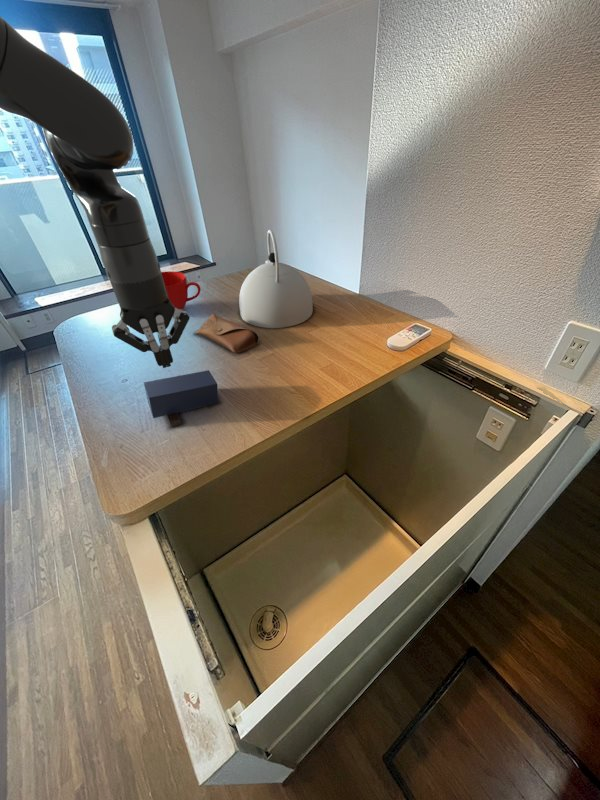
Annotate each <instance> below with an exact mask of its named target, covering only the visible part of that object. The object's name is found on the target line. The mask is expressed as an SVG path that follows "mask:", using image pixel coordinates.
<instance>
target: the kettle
mask: <svg viewBox="0 0 600 800" xmlns="http://www.w3.org/2000/svg"><path fill="white" fill-rule="evenodd" d="M266 235H267V237H266V238H267V239H266V240H267V241H266V242H267V253H268V259H266V260H265V263H262V264H260V265H259V266H257V267H256V268H254V269H253V270H252V271H251V272H250V273H249V274H248V275H247V276H246V277H245V279H244V280H243V282H242V285H241V287H240V290H239V296H238V304H239V305H238V306H239V315H240V317H241V319H242V320H243V321H244V322H246V323H247V324H249V325H251V326H255V327H259V328H264V329H282V328H289V327H293V326H296V325H299V324H301V323H303V322H305V321H307V320H309V318H311V316H312V315H313V311H314V308H313V307H314V306H313V295H312V290H311V287H310V284H309V283H308V281H307V280H306V278H305V277H304V275H303V274H301V273H300V271H298V270H297V269H296V268H294V267H293V266H291V265H289V264H287V263H285V262H280V261H279V253H278V246H277V240H276V237H275V236H276V235H275V234H274V232H273V230H272V229H268V230H267V234H266ZM271 240H272V241H271ZM271 242H272V246H273V252H272V249H271Z"/></svg>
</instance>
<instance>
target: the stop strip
mask: <svg viewBox="0 0 600 800" xmlns="http://www.w3.org/2000/svg"><path fill="white" fill-rule="evenodd" d="M166 418H167V420H168V422H169V424H170V427H171V428H174V427H177V426H180V425H181V424H182V421H181V418H180V415H179V413H174V414H170V415H166Z"/></svg>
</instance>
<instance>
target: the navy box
mask: <svg viewBox="0 0 600 800" xmlns="http://www.w3.org/2000/svg"><path fill="white" fill-rule="evenodd" d="M143 387H144V390H145V396H146V399H147V404H148V407H149V409H150V410H149V411H150V413H151V416H152V418H153V419H156V418H161V417H164V416H165V417H166V416H167V415H170V414H174V413H177V414H179V413H181V412H186V411H190V410H194V409H199V408H203V407H208V406H211V405H215V404H219V390H218V389H219V388H218V387H219V386H218V382H217V381H216V379H215V378H214V376H213V374H212V373H211V371H210V370H209V369H208V370H203V371H197V372H191V373H187V374H186V373H185V374H182V375H175V376H170V377H165V378H160V379H155V380H154V379H153V380H149V381H144V382H143Z"/></svg>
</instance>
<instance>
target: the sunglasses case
mask: <svg viewBox="0 0 600 800" xmlns="http://www.w3.org/2000/svg"><path fill="white" fill-rule="evenodd" d="M194 334H195V335H198V336H200V337H204V339H205V338H206V339H207V340H209V341H212V342H213V343H215V344H217V345H219V346H220V347H222V348H224V349H226V350H228V351H230V352H231V353H233V354H239V353H243V352H245V351H247V350H250V349H251V348H253V347H254V346H256V345H257V344H258V342H259V339H260V338H259V335H258V334H257V332H255V330H252V329H249V328H246V327H244V326H242V325H241V324H239V323H236V322H233V321H232V320H229V319H227V318H224V317H222V316H219V315H217V314H215V312H212V313H211V315H210V317H209V318H207V320H206V321H205V322H204V323H203V324H202V325H201V327H200V328H199V329H198V330H197V331H195V332H194Z"/></svg>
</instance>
